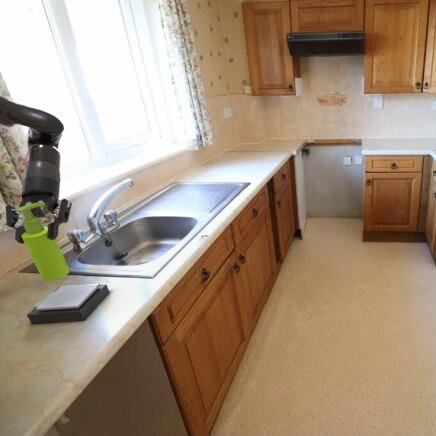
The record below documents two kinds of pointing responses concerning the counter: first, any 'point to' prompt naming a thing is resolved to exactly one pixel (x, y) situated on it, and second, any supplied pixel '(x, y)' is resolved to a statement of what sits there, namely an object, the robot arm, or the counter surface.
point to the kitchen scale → (69, 303)
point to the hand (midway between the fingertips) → (36, 240)
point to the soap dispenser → (42, 246)
